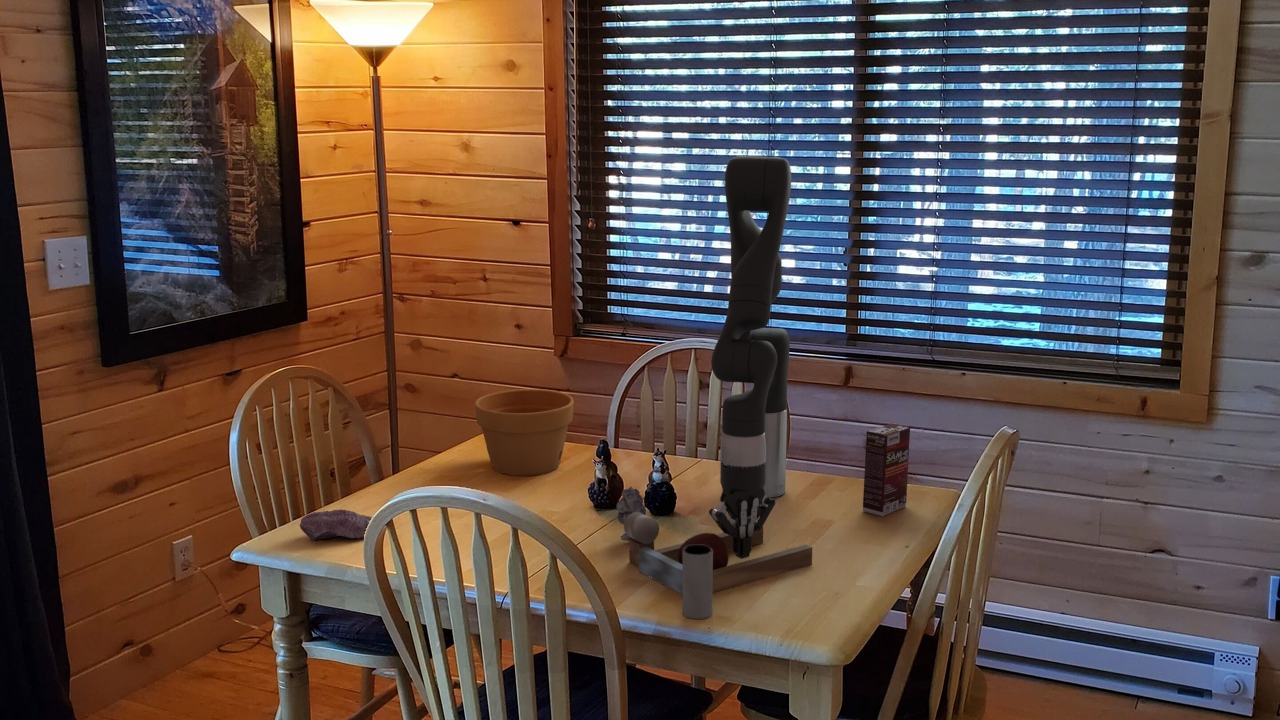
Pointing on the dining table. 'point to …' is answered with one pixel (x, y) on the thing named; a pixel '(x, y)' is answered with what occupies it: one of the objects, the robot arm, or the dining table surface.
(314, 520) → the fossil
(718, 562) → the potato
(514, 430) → the flower pot
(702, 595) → the grey tube
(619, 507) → the grey lumpy rock
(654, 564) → the bay
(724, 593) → the dining table surface
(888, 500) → the supplement box
